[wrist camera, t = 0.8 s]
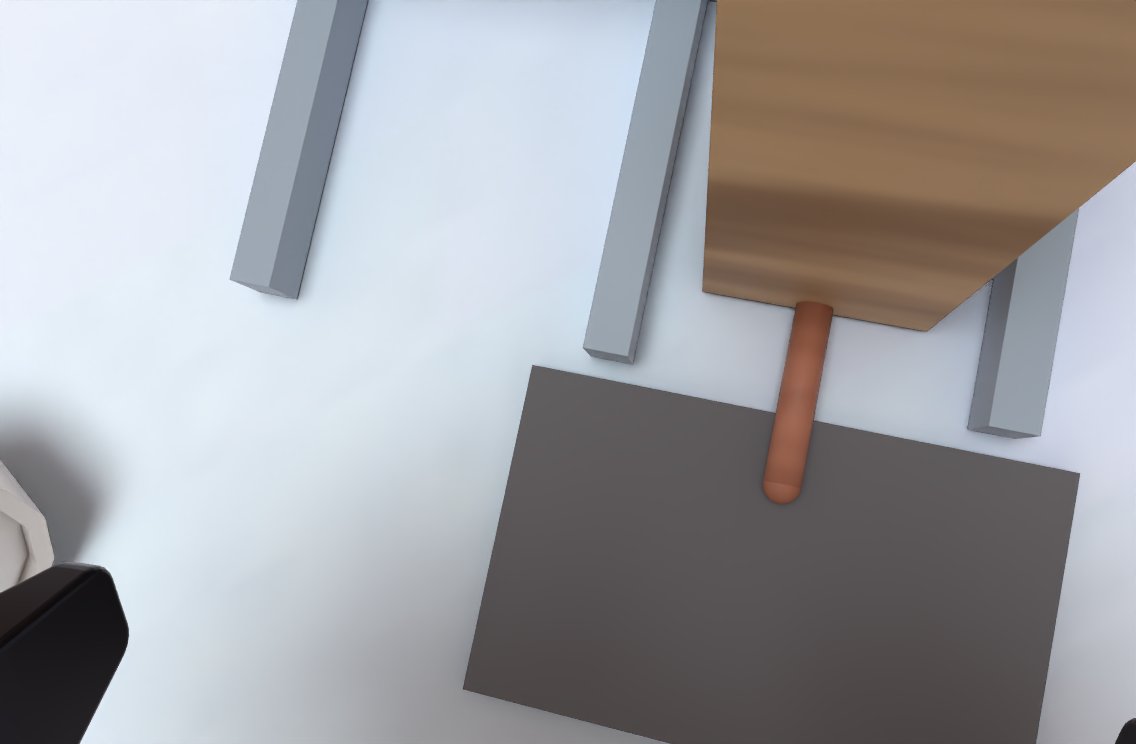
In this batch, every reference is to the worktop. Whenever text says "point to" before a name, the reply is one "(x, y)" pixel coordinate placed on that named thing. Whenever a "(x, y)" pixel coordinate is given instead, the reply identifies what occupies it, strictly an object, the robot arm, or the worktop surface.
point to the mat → (766, 578)
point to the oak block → (900, 159)
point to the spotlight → (21, 534)
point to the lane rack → (308, 132)
